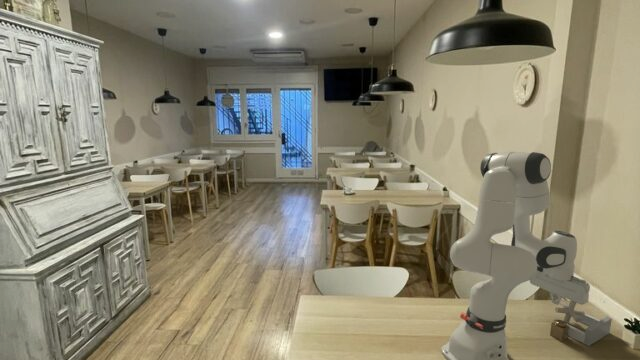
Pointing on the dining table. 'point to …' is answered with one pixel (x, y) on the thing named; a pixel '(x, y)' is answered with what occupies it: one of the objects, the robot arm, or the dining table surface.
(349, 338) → the dining table surface
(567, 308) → the beige crossed rod piece
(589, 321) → the socket cradle
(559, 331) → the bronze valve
